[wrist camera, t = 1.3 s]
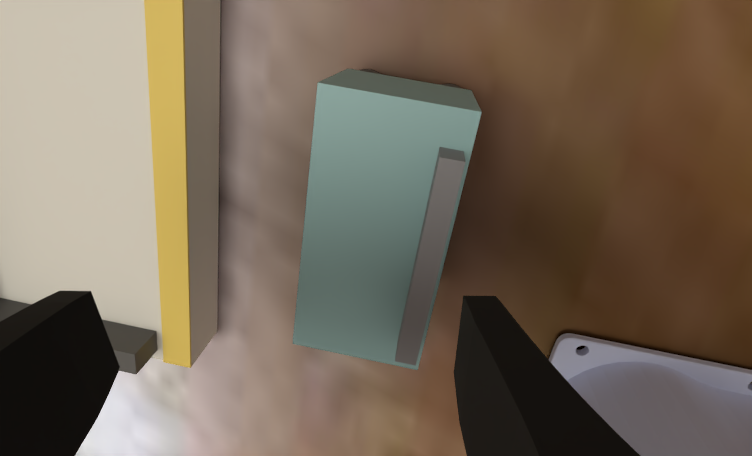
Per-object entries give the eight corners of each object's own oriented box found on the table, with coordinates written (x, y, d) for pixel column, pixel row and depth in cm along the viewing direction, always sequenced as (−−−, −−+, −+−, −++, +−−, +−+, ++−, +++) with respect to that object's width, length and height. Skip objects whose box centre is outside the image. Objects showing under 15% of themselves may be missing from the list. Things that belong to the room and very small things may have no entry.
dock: (221, -130, 14) (147, -183, 11) (217, 330, 22) (172, 391, 18) (-75, -176, 15) (-241, -241, 11) (21, 289, 22) (-61, 340, 19)
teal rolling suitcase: (474, 85, 16) (494, 121, 10) (428, 280, 19) (423, 394, 13) (350, 63, 16) (298, 86, 10) (326, 259, 20) (276, 363, 14)
